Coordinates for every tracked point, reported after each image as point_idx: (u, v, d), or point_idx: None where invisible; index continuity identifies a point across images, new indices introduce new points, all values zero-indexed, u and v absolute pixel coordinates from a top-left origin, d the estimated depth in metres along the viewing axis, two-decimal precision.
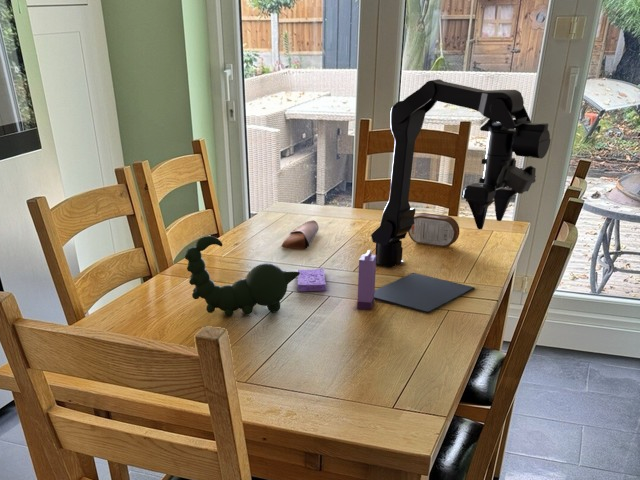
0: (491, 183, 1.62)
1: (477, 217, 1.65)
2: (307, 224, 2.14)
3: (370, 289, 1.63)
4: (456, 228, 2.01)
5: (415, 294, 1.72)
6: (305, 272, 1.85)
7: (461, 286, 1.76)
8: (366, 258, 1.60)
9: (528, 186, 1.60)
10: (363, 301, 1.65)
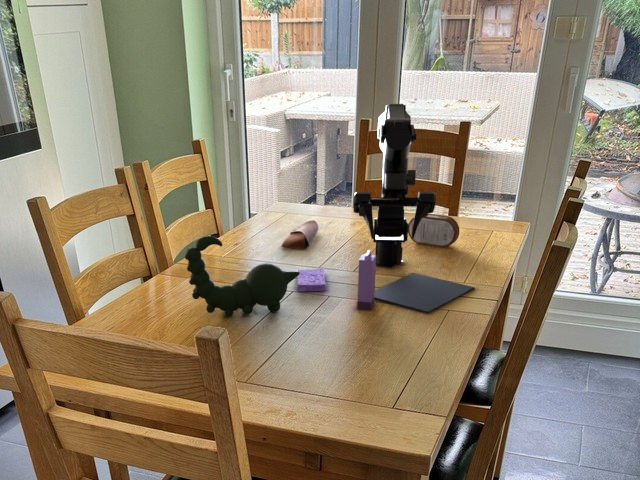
0: (382, 196, 1.66)
1: (368, 227, 1.67)
2: (307, 224, 2.14)
3: (370, 289, 1.63)
4: (456, 228, 2.01)
5: (415, 294, 1.72)
6: (305, 272, 1.85)
7: (461, 286, 1.76)
8: (366, 258, 1.60)
9: (397, 181, 1.58)
10: (363, 301, 1.65)
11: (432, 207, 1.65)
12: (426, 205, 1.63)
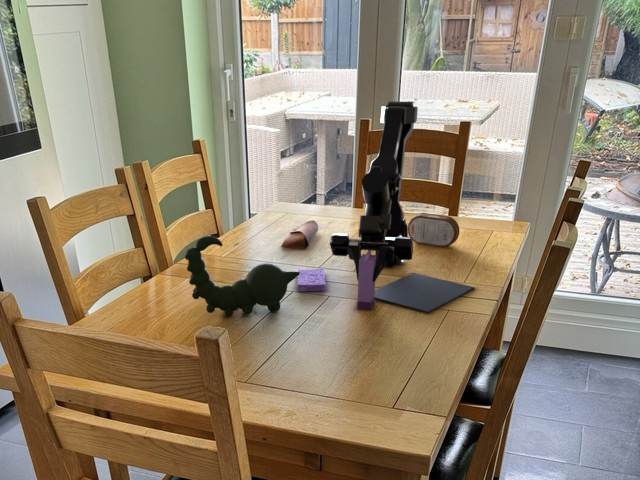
0: (360, 239, 1.65)
1: None
2: (306, 224, 2.14)
3: (370, 289, 1.63)
4: (456, 228, 2.01)
5: (415, 294, 1.72)
6: (305, 272, 1.85)
7: (461, 286, 1.76)
8: (366, 258, 1.60)
9: (370, 224, 1.57)
10: (363, 301, 1.65)
11: (409, 253, 1.62)
12: (388, 249, 1.61)
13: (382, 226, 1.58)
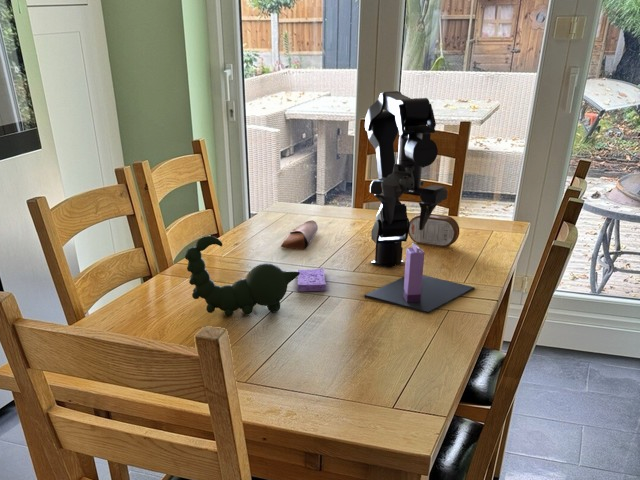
0: None
1: None
2: (306, 224, 2.14)
3: (421, 281, 1.65)
4: (456, 228, 2.01)
5: None
6: (305, 272, 1.85)
7: (461, 286, 1.76)
8: (418, 251, 1.61)
9: (390, 192, 1.66)
10: (413, 294, 1.67)
11: None
12: (426, 205, 1.67)
13: (402, 191, 1.65)
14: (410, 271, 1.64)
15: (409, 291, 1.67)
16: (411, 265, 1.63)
